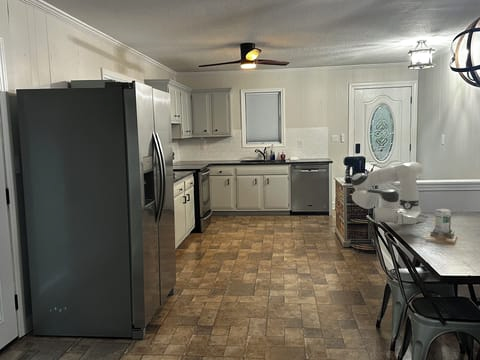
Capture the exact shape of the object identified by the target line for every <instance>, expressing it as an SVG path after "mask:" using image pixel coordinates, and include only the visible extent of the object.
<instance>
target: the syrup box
mask: <svg viewBox="0 0 480 360" xmlns="http://www.w3.org/2000/svg"><path fill="white" fill-rule="evenodd" d="M434 212H435V213H434V228H435V232H438V231H444V233H450V229H451V222H452V221H451V220H452V219H451V218H452V216H451V215H452V210H451V209H448V208H447V209H446V208H439V209H435V211H434Z"/></svg>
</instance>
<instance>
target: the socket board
mask: <svg viewBox="0 0 480 360" xmlns="http://www.w3.org/2000/svg"><path fill="white" fill-rule="evenodd" d="M457 239H458V234H456V233H455V229H451V228H450V233H444V231H438V232H435V227H432V229H431V230H430V231H429V233H428V234H427V236H426V237H425V242H429V243H437V244H444V245H445V244H446V245H455V243H456V241H457Z"/></svg>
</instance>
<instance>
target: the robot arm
mask: <svg viewBox="0 0 480 360" xmlns="http://www.w3.org/2000/svg"><path fill="white" fill-rule="evenodd" d="M423 172H424V168H423V166H422V164H421V163H419V162H417V161H410V162H403V163H401V164H397V165H391V166H388V167H382V168H380V169H375V170H373V171H370V172H368V173H366V172H363V173H362V172H358V173H355V174H353V175H352V176H351V178H350V183H351V185H352V187H353V189H354V190H355V191H353V193H352V194H351V199H352V201H353V202H354V203H355V204H356V205H357V206H359V207H361V208H363V209H367V210H369V209H373V220H374V221H376V222H381V223H385V224H386V223H388V224H390V223H393V224H397V225H415V224H417V223H424V222H426V221H427V219H429V215H428V214H424V213H421V211H422V209H421V208H420V206H419V204H420V201H419V186H418V185H417V184H418V183H417V178H419V177H420V176H421V175H422V174H423ZM398 182H399V188H400V193H399V192H398V191H397V190H395V189H382V188H373V187H374V186H383V185H389V184H394V183H398ZM379 197H380V198H381V207H375V206H376V205H377V203H378V200H379Z"/></svg>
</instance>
